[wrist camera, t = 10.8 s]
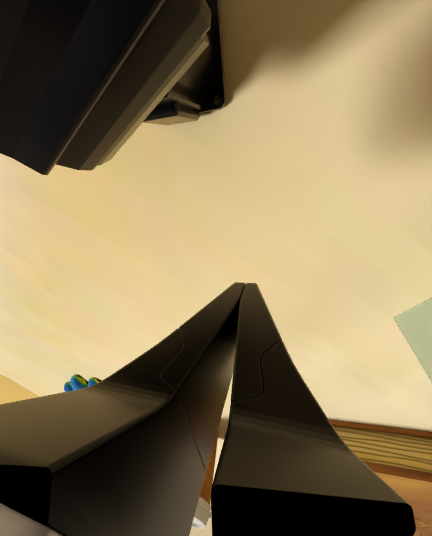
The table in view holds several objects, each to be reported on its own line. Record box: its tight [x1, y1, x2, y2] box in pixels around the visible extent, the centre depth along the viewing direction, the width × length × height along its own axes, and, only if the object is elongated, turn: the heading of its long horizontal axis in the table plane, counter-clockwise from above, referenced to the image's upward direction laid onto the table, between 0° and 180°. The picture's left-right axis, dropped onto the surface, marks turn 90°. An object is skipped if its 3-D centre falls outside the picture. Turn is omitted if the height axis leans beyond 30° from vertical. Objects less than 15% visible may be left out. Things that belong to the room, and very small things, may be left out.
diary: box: [329, 420, 432, 536], centre depth 32 cm, size 23×19×6 cm
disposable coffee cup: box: [191, 430, 218, 529], centre depth 38 cm, size 10×10×12 cm
